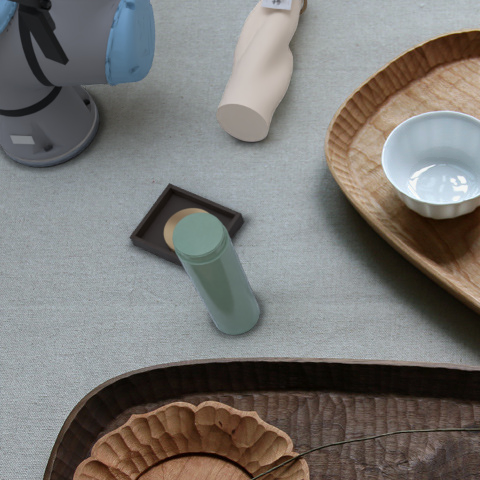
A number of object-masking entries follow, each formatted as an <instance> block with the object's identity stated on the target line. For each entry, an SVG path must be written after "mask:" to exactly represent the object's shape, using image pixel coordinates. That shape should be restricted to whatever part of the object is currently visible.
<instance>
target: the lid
mask: <svg viewBox="0 0 480 480" xmlns="http://www.w3.org/2000/svg"><path fill="white" fill-rule="evenodd" d="M200 212H202V213H208V212H206V211H204V210H202V209H198V208H189V209H184V210H181V211H179V212H177V213H176V214H174V215H173V216H172V217H171V218H170V219H169V220H168V221H167V223H166V225H165V228H164V238H165V241H166V244H167V246H168V247H169V249H170V250H171V252H173V253H175V254H176V252H175V249H174V245H173V240H172V237H173V231H174V228H175V226H176V225H177V223H178V222H179V221H180V220H181V219H183V218H184V217H186V216H188V215H190V214H193V213H200ZM208 214H209V213H208Z"/></svg>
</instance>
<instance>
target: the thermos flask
mask: <svg viewBox="0 0 480 480" xmlns="http://www.w3.org/2000/svg"><path fill="white" fill-rule="evenodd" d="M172 240H173V245H174V249H175V252H176V254H177V256H178V258H179V260H180V261H181V263H182V265H183V267H182V268H183V269H184V271H185V273H186V274H187V276H188V278H189V280H190V282H191V283H192V285H193V288H194V289H195V291H196V292H197V294H198V296H199V298H200V300H201V302H202V303H203V306H204V307H205V309H206V311H207V313H208V314H209V317H210V318H211V320H212V323H213V325H214V326H215V327H216V328H217V329H218V330H219V331H220V332H221V333H223V334H226V335H230V336H237V335H243V334H245V333H247V332H249V331H250V330H252V329H253V328H254V327H255V326H256V325H257V323H258V321H259V319H260V314H261V308H260V305H259V303H258V301H257V298H256V295H255V293H254V291H253V289H252V287H251V284H250V281H249V278H248V277H247V275H246V271H245V269H244V267H243V265H242V262H241V260H240V257H239V255H238V252H237V251H236V247H235V246H234V243H233V240H231V238H230V236H229V234H228V231H227V229H226V228H225V226H224V225H223V224H222V223H221V222H220V221H219V220H218V218H216V217H215V216H213V215H211V214H208V213H202V212H200V213H193V214H190V215H188V216H186V217H184V218H183V219H181V220H180V221H179V222H178V223H177V225H176V226H175V228H174V231H173V237H172Z"/></svg>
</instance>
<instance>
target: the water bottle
mask: <svg viewBox="0 0 480 480" xmlns="http://www.w3.org/2000/svg"><path fill="white" fill-rule="evenodd" d="M307 7H308V0H259V1H258V2H257V4H256V5H255V6H254V8H253V9H252V10H251V11H250V12H249V13H248V15H247V17H246V19H245V21H244V22H243V25H242V28H241V31H240V34H239V36H238V39H237V42H236V45H235V47H234V52H233V61H232V68H231V74H230V76H229V79H228V81H227V82H226V85H225V88H224V90H223V93H222V96H221V98H220V101H219V104H218V107H217V109H216V112H215V118H216V121H217V123H218V124H219V126H220V127H221V128H222V130H224V131H225V132H226V133H227V134H229V135H230V136H232V137H233V138H235V139H237V140H240V141H243V142H247V143H248V142H252V143H254V142H259V141H262V140H264V139H266V137H267V136H268V133H269V131H270V127H271V123H272V119H273V116H274V114H275V111H276V110H277V108H278V106H279V105H280V103H281V102H282V100H284V99H283V98H285V95H286V93H287V92H288V88H289V86H290V83H291V79H292V75H293V71H294V57H293V56H294V55H293V53H292V51H291V49H290V48H291V47H290V43H291V41H292V39H293V37H294V35H295V33H296V31H297V28H298V25H299V21H300V16H302V15H303V14H304V13H305V12H306V10H307Z"/></svg>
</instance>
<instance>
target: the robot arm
mask: <svg viewBox="0 0 480 480" xmlns="http://www.w3.org/2000/svg"><path fill="white" fill-rule="evenodd" d="M155 50H156V22H155V15H154V8H153V5H152V4H151V0H0V147H1V149H2V150H3V152H5V154H6V155H7V156H8V157H9V158H10V159H12V161H15V162H17V163H19V164H21V165H24V166H27V167H34V168H35V167H36V168H42V167H45V168H46V167H52V166H55V165H59V164H63V163H64V162H68V161H70V160H71V159H73V158H74V157H76V156H77V155H79V154H81V153H82V151H84V150H85V149H86V148H87V147H88V146H89V145H90V144H91V143H92V141H93V140H94V138H95V136H96V134H97V133H98V129H99V125H100V113H99V109H98V107H97V104H96V102H95V101H94V99H93V97H92V96H91V94H90V93H89V92H88V91H87V89H85V88H84V87H83V86H96V85H97V86H98V85H99V86H101V85H110V86H111V87H116V86H117V85H120V84H131V83H138V82H141V81H142V80H143V79H145V78H146V77H147V76H148V75H149V73H150V71H151V68H152V65H153V62H154V59H155V58H154V57H155Z"/></svg>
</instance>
